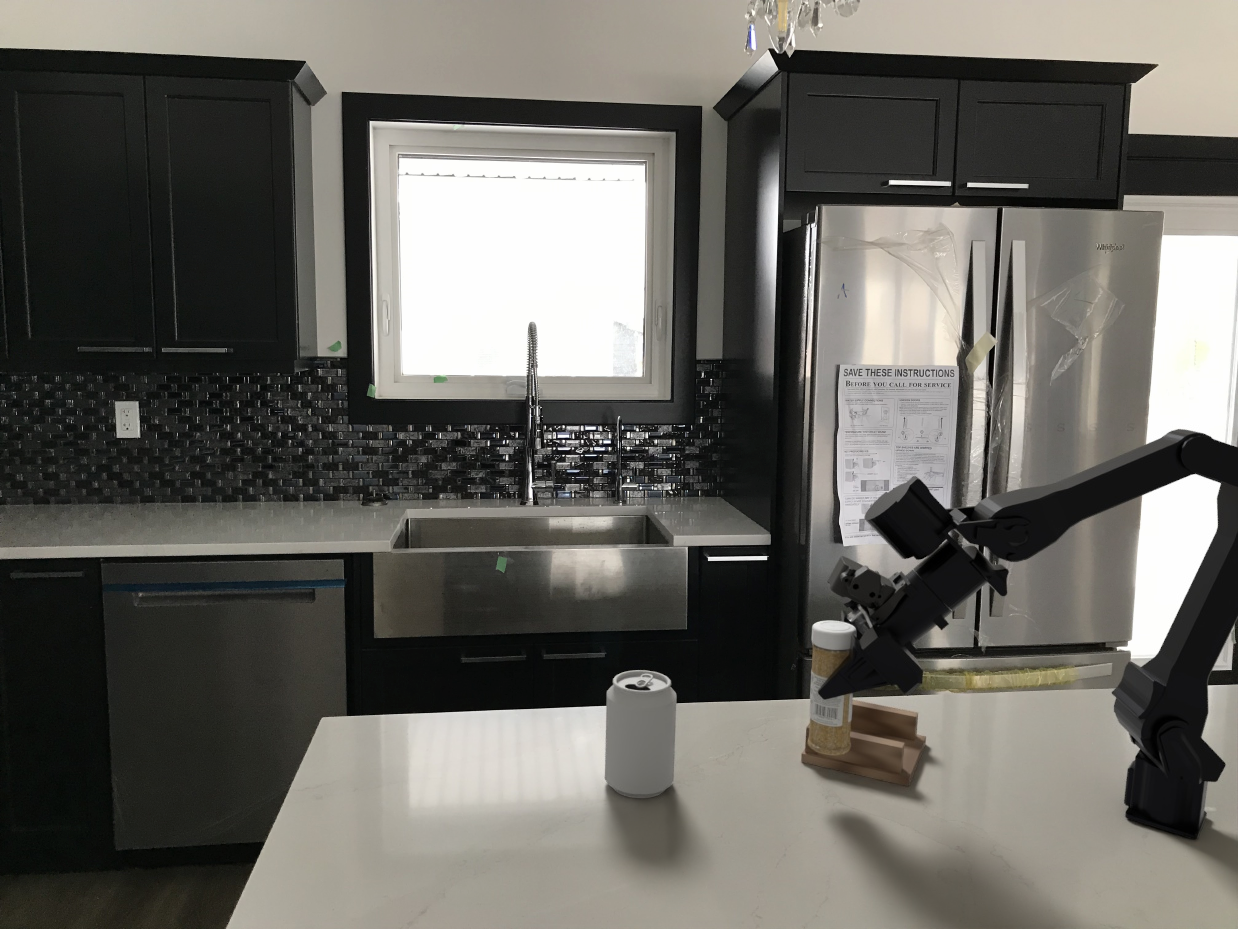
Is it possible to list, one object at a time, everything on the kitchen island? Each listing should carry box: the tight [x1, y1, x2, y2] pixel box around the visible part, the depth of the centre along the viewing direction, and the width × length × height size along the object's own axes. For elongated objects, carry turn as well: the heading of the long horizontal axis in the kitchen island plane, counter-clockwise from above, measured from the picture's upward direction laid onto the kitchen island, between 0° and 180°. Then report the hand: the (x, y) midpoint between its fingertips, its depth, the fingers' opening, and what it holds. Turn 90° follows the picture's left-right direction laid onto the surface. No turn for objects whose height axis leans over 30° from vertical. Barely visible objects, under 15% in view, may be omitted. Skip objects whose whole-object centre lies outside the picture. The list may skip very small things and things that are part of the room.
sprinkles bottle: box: [808, 620, 857, 755], centre depth 99 cm, size 5×5×14 cm
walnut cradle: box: [800, 699, 927, 787], centre depth 110 cm, size 12×12×4 cm
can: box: [604, 669, 677, 799], centre depth 100 cm, size 8×8×12 cm
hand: (818, 687), depth 99 cm, fingers closed on sprinkles bottle, 4 cm apart
